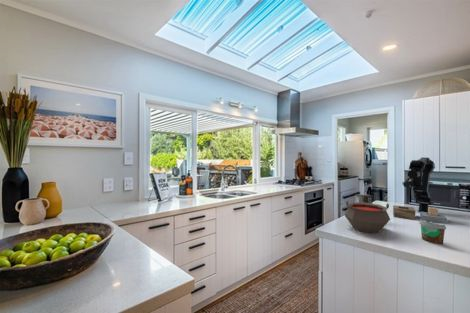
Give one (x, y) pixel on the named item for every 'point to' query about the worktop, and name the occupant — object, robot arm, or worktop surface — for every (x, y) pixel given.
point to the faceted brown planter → (367, 216)
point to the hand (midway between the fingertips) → (416, 198)
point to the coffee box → (363, 198)
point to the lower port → (434, 217)
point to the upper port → (404, 212)
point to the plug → (432, 211)
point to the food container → (432, 231)
